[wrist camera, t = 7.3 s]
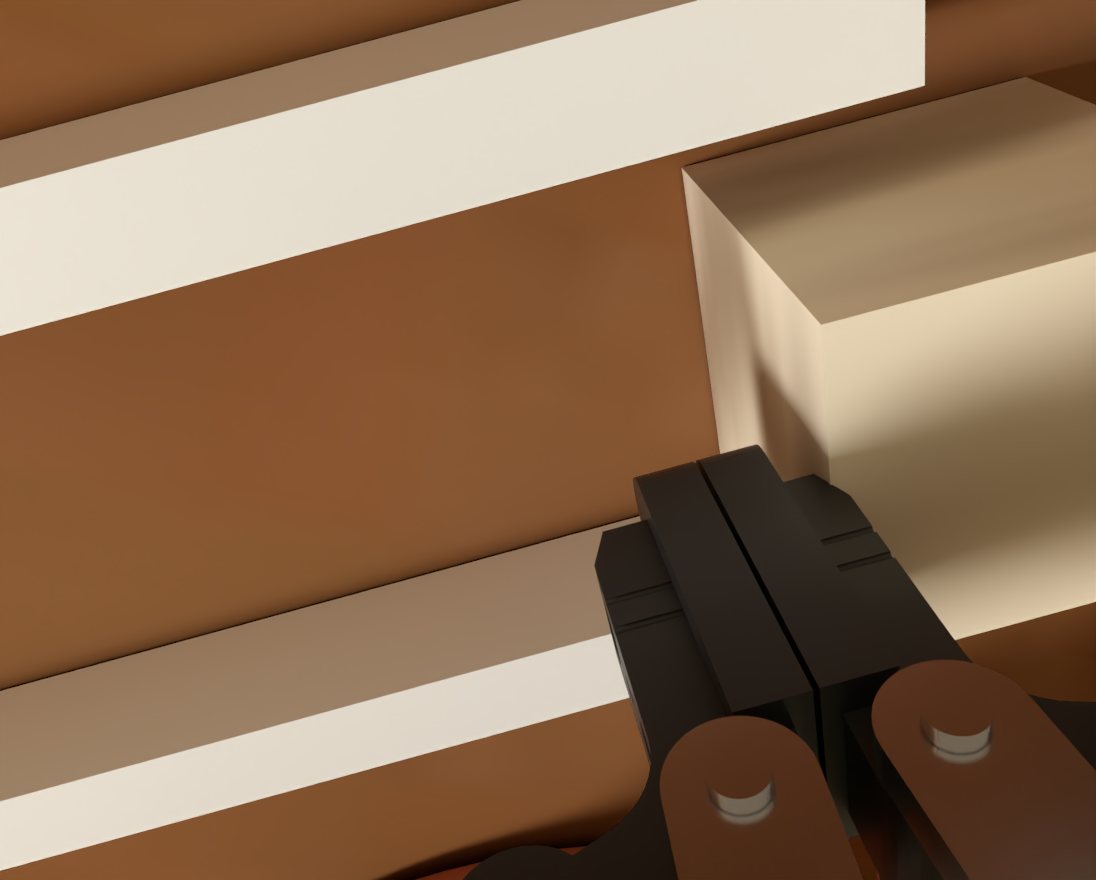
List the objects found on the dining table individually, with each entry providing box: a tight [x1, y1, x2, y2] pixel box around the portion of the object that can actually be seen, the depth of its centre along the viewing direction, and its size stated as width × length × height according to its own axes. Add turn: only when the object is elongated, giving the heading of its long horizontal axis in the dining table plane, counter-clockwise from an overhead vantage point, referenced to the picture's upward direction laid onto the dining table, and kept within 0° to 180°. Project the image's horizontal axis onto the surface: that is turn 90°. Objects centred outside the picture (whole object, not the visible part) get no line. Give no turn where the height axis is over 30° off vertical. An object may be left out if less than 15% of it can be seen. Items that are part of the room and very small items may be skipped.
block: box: [682, 77, 1096, 640], centre depth 13 cm, size 5×5×5 cm
